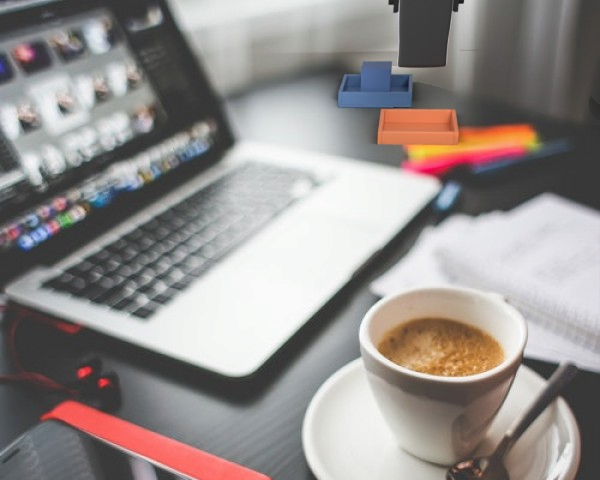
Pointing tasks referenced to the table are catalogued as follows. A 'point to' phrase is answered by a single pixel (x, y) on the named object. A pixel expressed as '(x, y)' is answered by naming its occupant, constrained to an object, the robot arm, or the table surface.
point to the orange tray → (418, 127)
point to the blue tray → (375, 93)
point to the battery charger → (423, 33)
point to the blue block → (376, 76)
